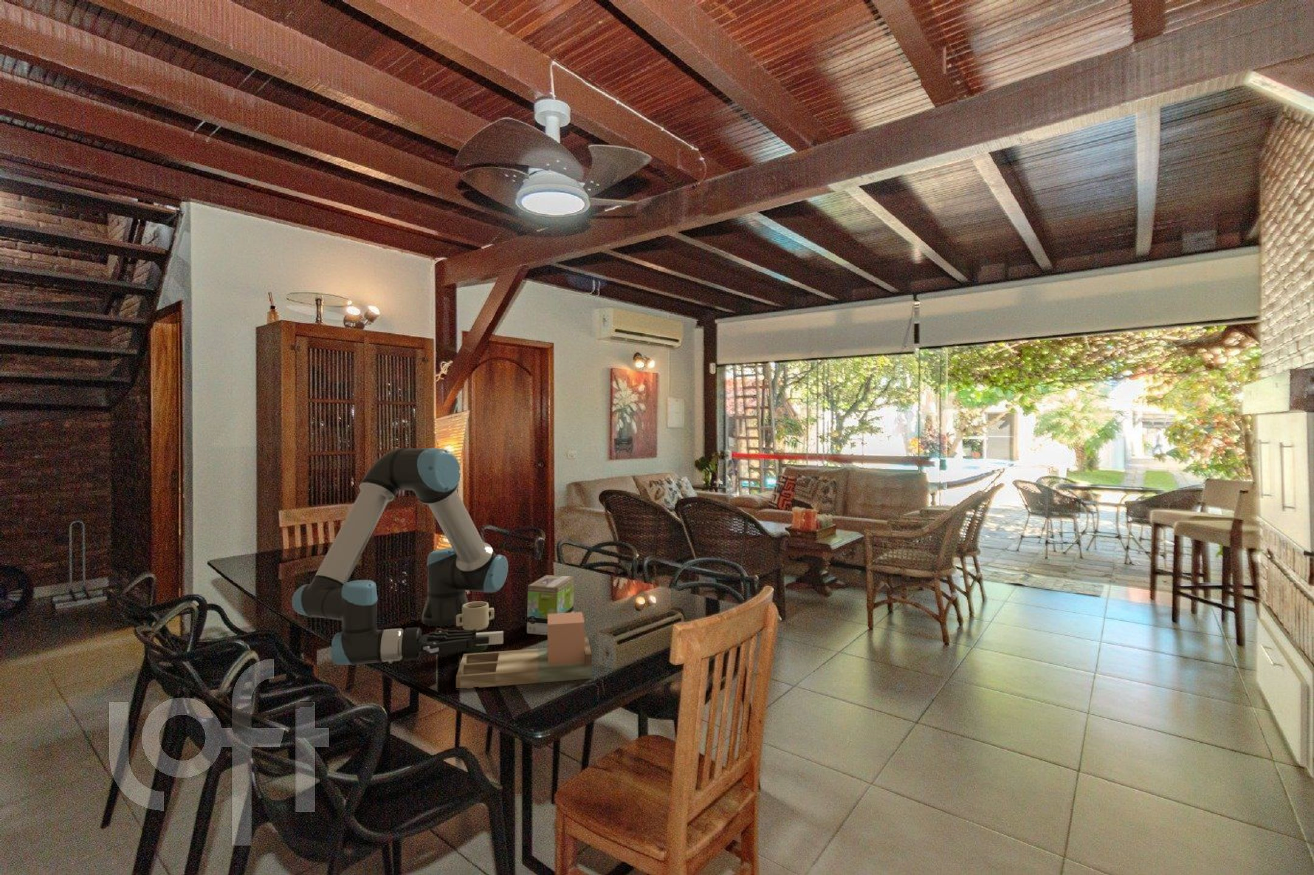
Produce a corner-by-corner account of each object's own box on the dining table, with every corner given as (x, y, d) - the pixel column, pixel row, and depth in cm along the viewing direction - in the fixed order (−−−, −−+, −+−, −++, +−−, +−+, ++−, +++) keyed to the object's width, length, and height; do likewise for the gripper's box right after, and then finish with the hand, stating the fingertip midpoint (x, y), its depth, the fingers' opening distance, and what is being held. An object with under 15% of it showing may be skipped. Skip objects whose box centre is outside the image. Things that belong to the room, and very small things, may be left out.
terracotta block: (547, 651, 159) (547, 613, 159) (582, 649, 161) (582, 611, 161) (548, 664, 150) (548, 624, 150) (584, 662, 152) (584, 622, 152)
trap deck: (463, 665, 158) (463, 642, 158) (587, 656, 164) (586, 634, 164) (456, 689, 143) (455, 663, 143) (591, 678, 149) (591, 654, 149)
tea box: (557, 636, 180) (557, 586, 180) (526, 634, 182) (525, 585, 182) (574, 621, 195) (574, 575, 195) (545, 619, 197) (544, 573, 197)
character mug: (489, 643, 174) (488, 598, 174) (499, 650, 169) (499, 603, 168) (451, 652, 167) (451, 605, 167) (461, 659, 162) (460, 611, 162)
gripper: (408, 650, 154) (504, 643, 159) (397, 669, 141) (502, 661, 146) (408, 620, 154) (503, 614, 159) (397, 637, 141) (501, 630, 146)
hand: (502, 637), depth 153 cm, fingers closed
